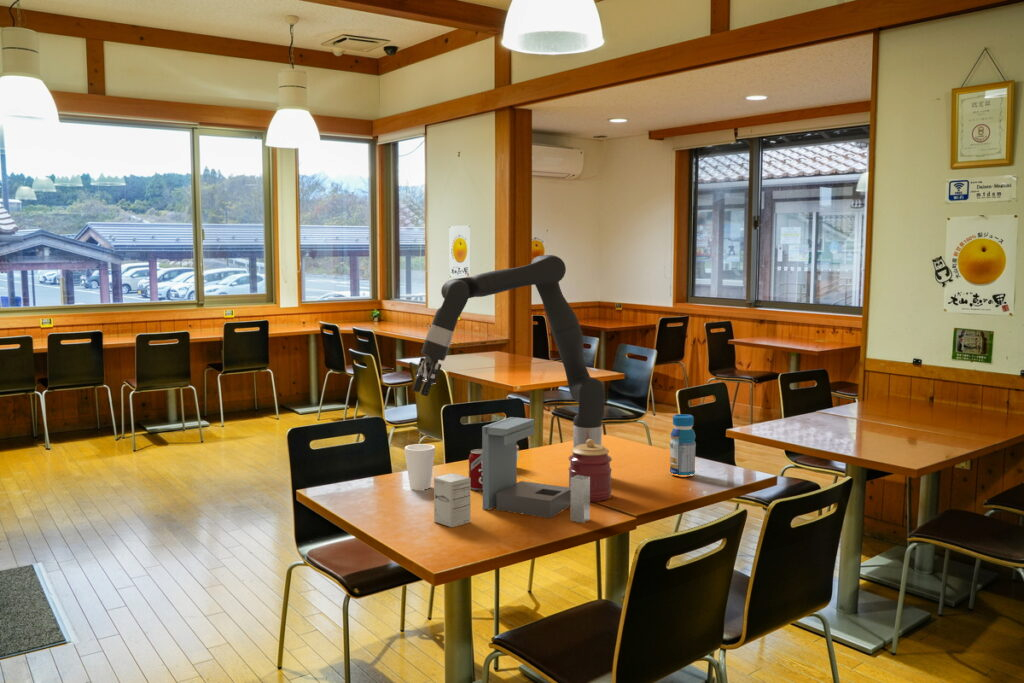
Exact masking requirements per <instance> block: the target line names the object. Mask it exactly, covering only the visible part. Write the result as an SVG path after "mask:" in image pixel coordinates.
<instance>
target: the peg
mask: <svg viewBox="0 0 1024 683" xmlns="http://www.w3.org/2000/svg"><path fill="white" fill-rule="evenodd" d="M569 517H570V522H572V521H576V522H575V523H579V522H581V523H580V524H585V523H587V522H588V521H589V519H591V518H590V517H591V502H590V477H589V476H581V475H576V476H574V477H572V478H571V506H570V516H569ZM586 521H587V522H586Z"/></svg>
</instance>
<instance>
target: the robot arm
mask: <svg viewBox="0 0 1024 683" xmlns="http://www.w3.org/2000/svg"><path fill="white" fill-rule="evenodd" d="M566 272H567V271H566V263H565V262H564V260H563V259H562V258H561V257H559V256H557V255H553V254H545V255H538V256H536V257H534V258H533V259H532V261H531V263H530V264H527V265H522V266H518V267H511V268H503V269H497V270H492V271H486V272H483V273H479V274H476V275H472V276H466V277H458V278H453V279H450V280H447V281H446V282H444V284H443V285H442V286H441V291H440V292H441V296H442V298H443V299H444V300H443V302H442V305H441V306H440V307H439V308H438V309H437V310H436V312H435V314H434V317H433V320H432V323H431V325H430V327H429V329H428V331H427V334H426V337H425V340H424V342H423V345H422V347H421V348H422V349H421V352H420V353H421V354H422V355H425V357H422V356H421V357H420V360H419V362H418V365H417V368H416V370H415V372H414V377H415V382H414V384H413V387H412V391H414V392H417V393H420V395H421V396H425V397H428V396H429V393H430V390H431V388H432V385H434V384H436V383H437V380H438V377H439V373H440V371H441V367H442V364H441V363H439V361H442V362H443V361H445V359H446V357H447V354H448V351H449V349H450V346H451V343H452V340H453V337H454V336H453V335H454V332H455V329H456V326H457V324H458V320H459V318H460V316H461V314H462V312H463V310H464V309H465V307H466V305H467V303H468V302H469V299H472V298H482V297H488V296H491V295H495V294H496V295H497V294H499V293H503V292H508V291H511V290H514V289H518V288H523V287H529V286H535V288H536V289H537V290H536V291H537V293H538V294H539V296H540V299H541V302H542V304H543V308H544V312H545V315H546V317H547V321H548V324H549V326H550V331H551V335H552V336H553V340H554V343H555V345H556V347H557V348H556V349H557V352H558V353H559V356H560V359H561V360H560V361H561V362H562V364H563V367H564V372H565V376H566V380H567V385H568V390H569V394H570V395H571V397H572V399H573V400H574V401H575V402H577V404H578V411H577V415H575V416H574V417H573V423H572V424H573V428H572V429H573V430H572V432H573V437H572V438H573V440H572V441H573V445H572V446H573V448H575V447H576V446H577V445H580V444H586V441H587V440H588V439H592V440H594V443H595V444H598V445H602V437H603V436H602V430H603V429H602V426H603V425H602V424H603V423H602V422H603V419H604V417H605V402H606V390H605V386H604V384H603V383H602V381H600V380H599V379H598V378H595V377H593V376H591V375H590V373H589V370H588V368H587V365H586V363H585V359H584V334H583V332H582V328H581V324H580V322H579V319H578V317H577V315H576V314H575V312H574V310H573V308H572V306H570V304H569V302H568V301H567V299H566V298H565V297H564V295H563V292H562V289H561V286H560V281H562V279H563V278H565V275H566ZM573 448H572V449H573Z"/></svg>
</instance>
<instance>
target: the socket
mask: <svg viewBox="0 0 1024 683" xmlns="http://www.w3.org/2000/svg"><path fill="white" fill-rule="evenodd" d="M570 505H571V488H569V486H559V485H554V484H546V483H539V482H538V483H537V482H531V481H524V480H520V481H517V483H516V484H514V486H511V487H509V488H507V489H503V490H501V491H499V492H497V493H496V506H495V507H496V511H500V510H504V511H503V512H506V511H510V512H509V513H512V512H516V513H515V514H519V513H523V514H522V515H525V514H528V515H527V516H531V515H534V516H533V517H538V516H540V518H544V517H546V518H545V519H551V517H552V518H553V517H555V516H556V515H558V514H560V513H561V512H563V511H565V510H566V509H568V508H570V507H571V506H570ZM569 506H570V507H569ZM567 507H568V508H567ZM564 509H565V510H564ZM562 510H563V511H562ZM559 512H560V513H559ZM554 515H555V516H554Z"/></svg>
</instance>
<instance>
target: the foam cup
mask: <svg viewBox="0 0 1024 683" xmlns="http://www.w3.org/2000/svg"><path fill="white" fill-rule="evenodd" d="M435 454H436V447H435V445H433V444H429V443H414V444H409V445H406V446H405V447H404V456H405V461H406V468H407V475H408V481H409V482H408V483H409V487H410V488H411V490H412V489H415V490H414V491H418V490H420V491H424V490H423V489H428V488H430V489H431V484H432V479H433V478H432V477H433V468H434V458H435ZM428 490H429V489H428Z"/></svg>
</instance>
